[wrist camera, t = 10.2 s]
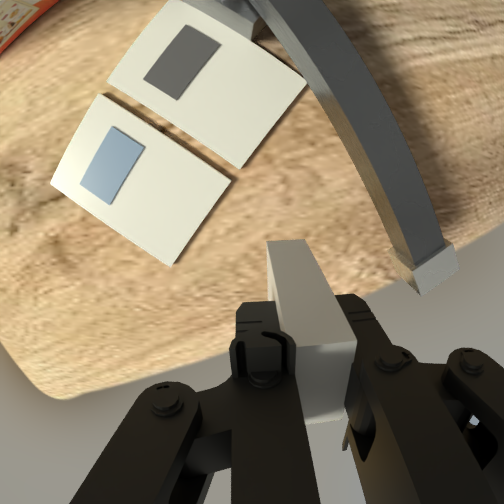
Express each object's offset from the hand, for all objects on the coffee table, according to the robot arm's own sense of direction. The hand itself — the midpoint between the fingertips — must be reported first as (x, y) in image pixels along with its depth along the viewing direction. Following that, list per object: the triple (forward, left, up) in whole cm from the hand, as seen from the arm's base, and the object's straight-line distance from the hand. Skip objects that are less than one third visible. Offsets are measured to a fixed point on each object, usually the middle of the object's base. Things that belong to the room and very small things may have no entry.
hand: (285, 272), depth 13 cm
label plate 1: (-5, -9, -12) cm, 16 cm away
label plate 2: (+4, -9, -12) cm, 15 cm away
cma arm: (-9, -2, -7) cm, 11 cm away
